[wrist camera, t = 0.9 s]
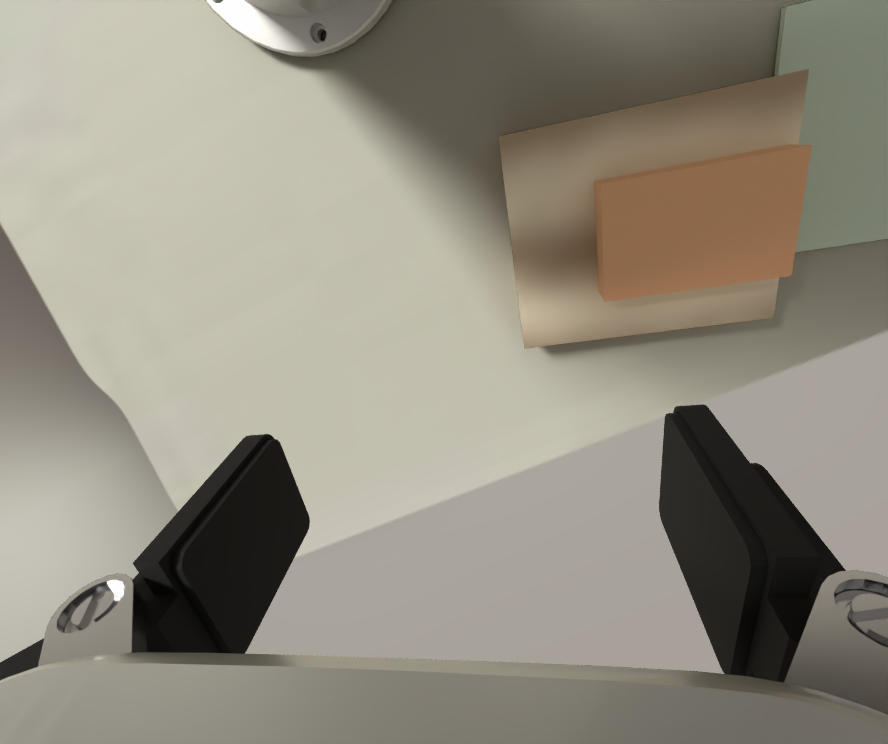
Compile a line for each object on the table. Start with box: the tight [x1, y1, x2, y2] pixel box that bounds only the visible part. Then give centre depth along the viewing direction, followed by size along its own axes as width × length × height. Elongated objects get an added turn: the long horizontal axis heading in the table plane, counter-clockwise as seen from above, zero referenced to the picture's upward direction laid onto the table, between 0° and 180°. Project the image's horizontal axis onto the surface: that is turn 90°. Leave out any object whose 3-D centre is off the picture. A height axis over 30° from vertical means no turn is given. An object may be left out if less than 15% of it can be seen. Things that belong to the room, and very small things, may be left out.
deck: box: [498, 69, 809, 349], centre depth 25 cm, size 12×14×3 cm
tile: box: [594, 144, 812, 302], centre depth 23 cm, size 6×9×2 cm, turn 101°
